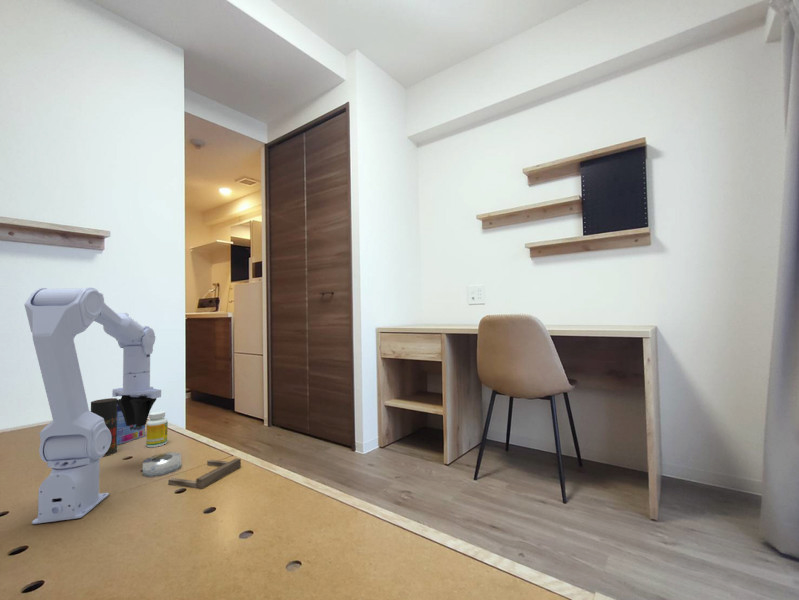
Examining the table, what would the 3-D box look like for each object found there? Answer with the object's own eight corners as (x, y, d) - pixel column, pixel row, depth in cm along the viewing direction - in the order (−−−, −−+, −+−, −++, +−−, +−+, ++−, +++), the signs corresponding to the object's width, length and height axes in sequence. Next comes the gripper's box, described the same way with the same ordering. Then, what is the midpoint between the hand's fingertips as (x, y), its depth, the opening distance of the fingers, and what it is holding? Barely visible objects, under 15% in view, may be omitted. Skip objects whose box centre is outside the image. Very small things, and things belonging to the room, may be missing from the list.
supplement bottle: (145, 444, 110) (145, 412, 110) (166, 440, 113) (166, 409, 113) (146, 449, 105) (147, 416, 106) (168, 444, 109) (168, 412, 109)
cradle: (240, 467, 90) (240, 458, 90) (201, 488, 79) (201, 479, 79) (210, 463, 93) (210, 455, 93) (168, 484, 82) (168, 475, 82)
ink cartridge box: (115, 446, 109) (115, 397, 109) (102, 445, 110) (102, 397, 111) (146, 436, 118) (147, 391, 119) (134, 434, 120) (134, 390, 121)
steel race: (173, 475, 87) (173, 462, 87) (136, 479, 85) (136, 466, 85) (185, 462, 95) (185, 450, 95) (151, 466, 93) (151, 453, 93)
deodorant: (85, 458, 99) (86, 403, 100) (96, 451, 105) (97, 399, 105) (110, 456, 100) (111, 401, 101) (120, 449, 106) (121, 397, 107)
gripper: (171, 370, 96) (171, 422, 95) (131, 369, 100) (130, 419, 99) (146, 374, 89) (145, 430, 88) (104, 373, 93) (103, 427, 92)
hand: (136, 425), depth 93 cm, fingers open, 3 cm apart
